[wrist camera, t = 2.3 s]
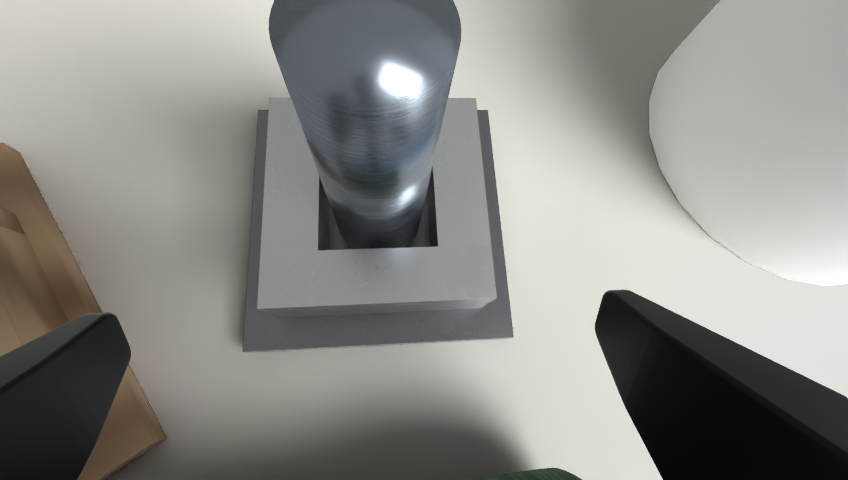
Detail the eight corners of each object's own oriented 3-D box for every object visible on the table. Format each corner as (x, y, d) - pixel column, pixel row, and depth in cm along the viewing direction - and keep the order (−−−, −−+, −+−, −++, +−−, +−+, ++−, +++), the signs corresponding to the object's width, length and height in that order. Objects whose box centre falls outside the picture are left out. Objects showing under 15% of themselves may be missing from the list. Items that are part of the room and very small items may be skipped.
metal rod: (393, 272, 19) (400, 141, 8) (320, 230, 20) (227, 45, 8) (434, 204, 21) (492, 4, 9) (365, 165, 21) (338, -75, 9)
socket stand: (507, 338, 20) (535, 332, 16) (250, 352, 19) (214, 349, 15) (483, 120, 23) (502, 73, 20) (264, 121, 22) (238, 70, 18)
